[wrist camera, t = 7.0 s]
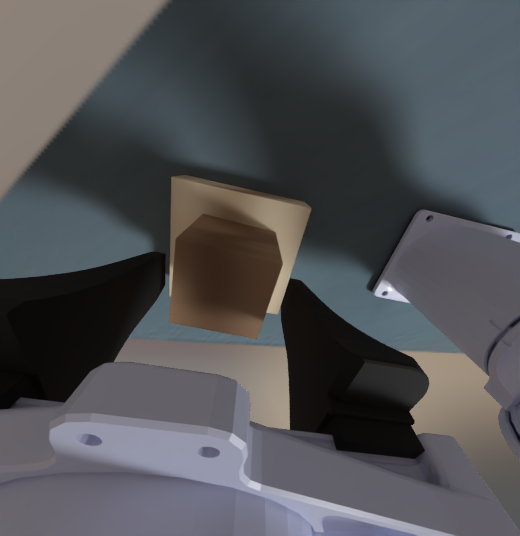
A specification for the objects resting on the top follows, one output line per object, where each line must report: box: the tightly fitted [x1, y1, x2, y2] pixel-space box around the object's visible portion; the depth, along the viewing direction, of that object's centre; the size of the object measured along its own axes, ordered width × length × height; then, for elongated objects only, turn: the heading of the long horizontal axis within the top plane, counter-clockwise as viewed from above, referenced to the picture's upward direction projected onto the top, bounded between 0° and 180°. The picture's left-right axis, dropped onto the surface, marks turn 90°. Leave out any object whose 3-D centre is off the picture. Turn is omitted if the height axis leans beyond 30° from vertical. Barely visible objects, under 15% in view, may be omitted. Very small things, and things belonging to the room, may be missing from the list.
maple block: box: [169, 175, 312, 314], centre depth 16 cm, size 9×9×3 cm
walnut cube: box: [169, 214, 283, 339], centre depth 13 cm, size 5×5×5 cm
